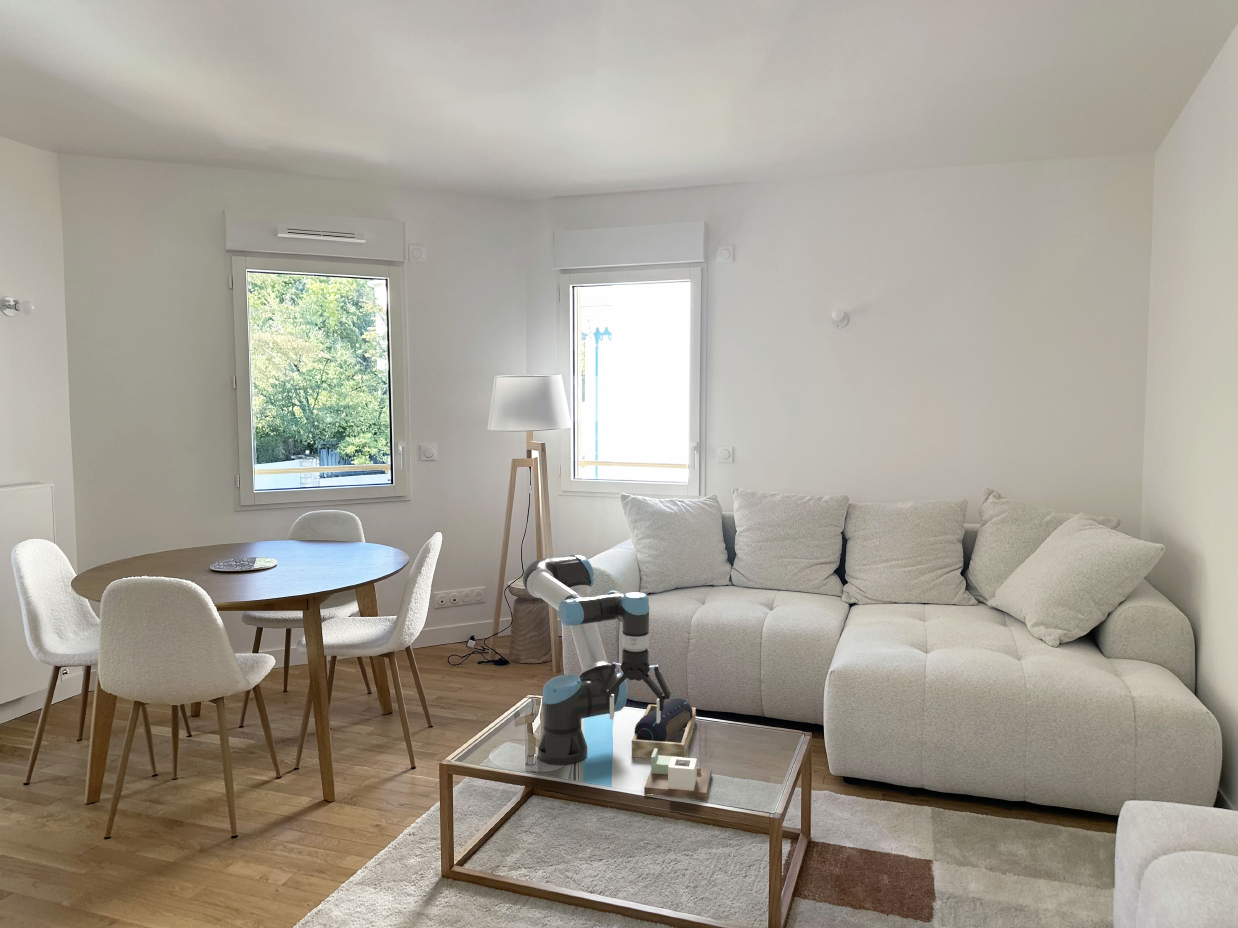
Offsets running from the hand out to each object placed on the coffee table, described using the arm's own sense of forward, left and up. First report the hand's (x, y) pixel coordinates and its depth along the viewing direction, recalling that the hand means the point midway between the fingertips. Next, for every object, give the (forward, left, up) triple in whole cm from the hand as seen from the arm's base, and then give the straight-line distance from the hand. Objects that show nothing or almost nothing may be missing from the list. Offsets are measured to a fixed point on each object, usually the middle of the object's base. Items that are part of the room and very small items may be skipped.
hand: (635, 719), depth 242 cm
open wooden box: (+5, +27, -16) cm, 32 cm away
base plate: (+13, -4, -16) cm, 21 cm away
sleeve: (+15, -8, -14) cm, 22 cm away
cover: (+9, 0, -14) cm, 17 cm away
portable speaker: (+5, +27, -16) cm, 32 cm away
